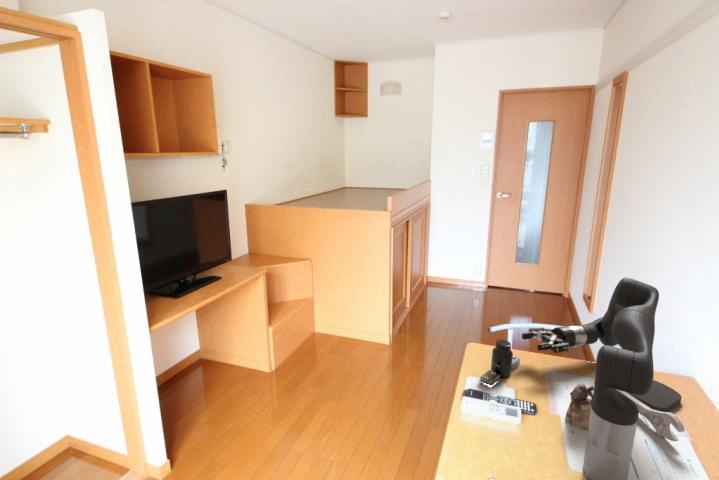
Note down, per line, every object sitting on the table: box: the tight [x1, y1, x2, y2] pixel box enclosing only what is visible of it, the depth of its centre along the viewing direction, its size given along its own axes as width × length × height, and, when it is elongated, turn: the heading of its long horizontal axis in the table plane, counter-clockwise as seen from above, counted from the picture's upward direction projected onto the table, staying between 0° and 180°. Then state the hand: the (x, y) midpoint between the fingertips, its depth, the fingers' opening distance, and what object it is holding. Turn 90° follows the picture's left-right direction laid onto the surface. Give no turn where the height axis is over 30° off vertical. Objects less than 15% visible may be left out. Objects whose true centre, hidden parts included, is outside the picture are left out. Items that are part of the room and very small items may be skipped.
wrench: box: [616, 389, 686, 442], centre depth 118 cm, size 8×2×30 cm
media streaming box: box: [627, 379, 682, 413], centre depth 126 cm, size 15×15×3 cm
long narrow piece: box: [479, 354, 521, 385], centre depth 140 cm, size 21×4×3 cm, turn 134°
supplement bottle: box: [490, 339, 514, 379], centre depth 139 cm, size 7×7×12 cm
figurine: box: [564, 383, 594, 430], centre depth 114 cm, size 7×7×12 cm
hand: (530, 341), depth 140 cm, fingers open, 8 cm apart
